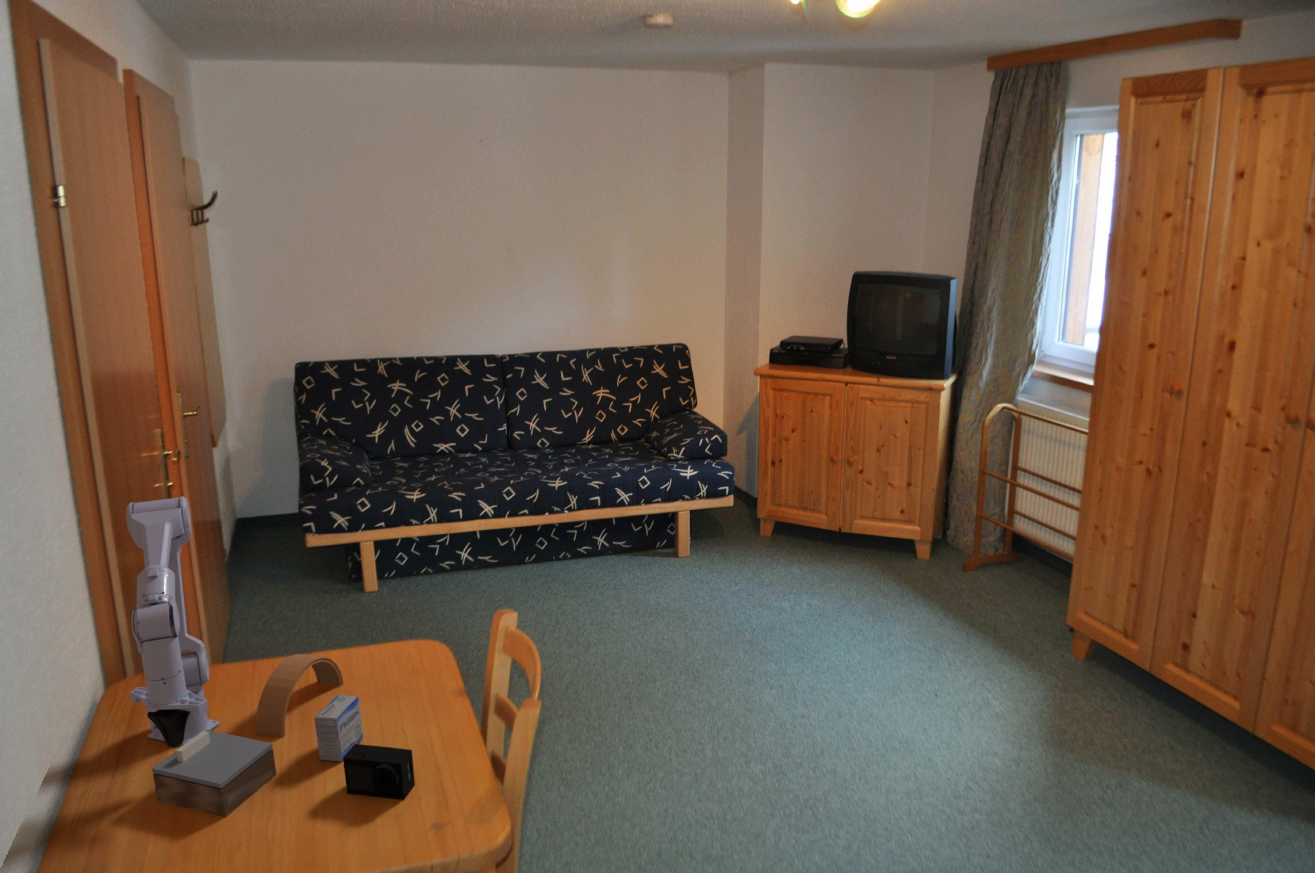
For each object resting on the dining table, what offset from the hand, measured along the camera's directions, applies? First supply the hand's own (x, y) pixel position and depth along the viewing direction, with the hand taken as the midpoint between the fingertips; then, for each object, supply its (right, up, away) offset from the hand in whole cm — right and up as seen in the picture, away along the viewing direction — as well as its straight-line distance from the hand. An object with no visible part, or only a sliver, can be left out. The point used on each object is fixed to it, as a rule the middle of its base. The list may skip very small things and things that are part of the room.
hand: (176, 744), depth 165 cm
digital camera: (+35, -7, -2) cm, 36 cm away
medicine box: (+25, -4, +10) cm, 27 cm away
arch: (+13, -1, +24) cm, 27 cm away
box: (+7, -7, -1) cm, 10 cm away
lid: (+7, -2, -2) cm, 8 cm away
